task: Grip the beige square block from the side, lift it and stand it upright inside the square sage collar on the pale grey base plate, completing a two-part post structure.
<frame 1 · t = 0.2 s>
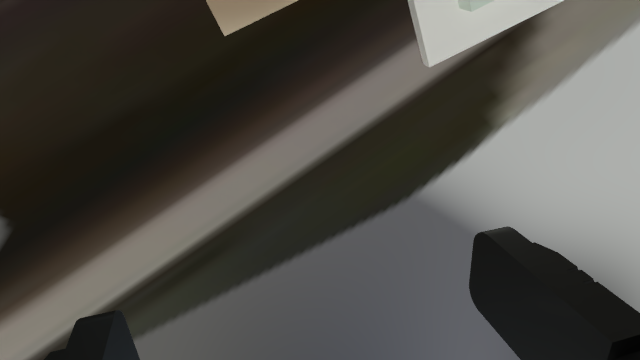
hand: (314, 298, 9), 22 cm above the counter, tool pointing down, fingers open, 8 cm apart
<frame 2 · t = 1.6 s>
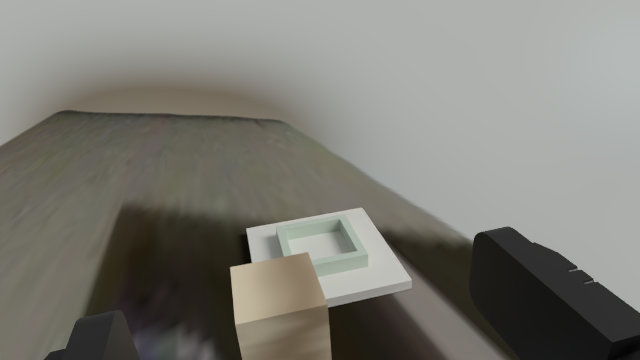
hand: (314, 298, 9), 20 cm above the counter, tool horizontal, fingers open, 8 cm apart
base plate: (320, 259, 44), on the counter
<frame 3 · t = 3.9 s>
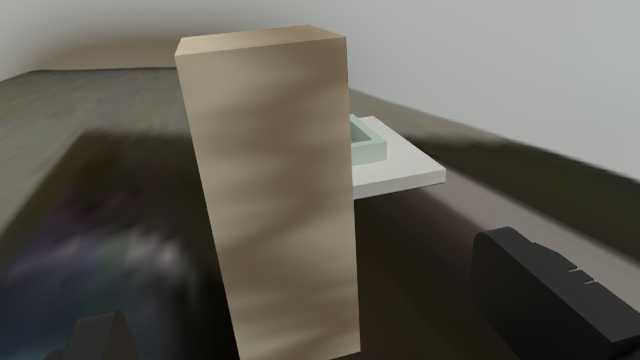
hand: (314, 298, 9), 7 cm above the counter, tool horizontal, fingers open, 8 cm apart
base plate: (323, 162, 34), on the counter
beige square block: (292, 324, 18), on the counter
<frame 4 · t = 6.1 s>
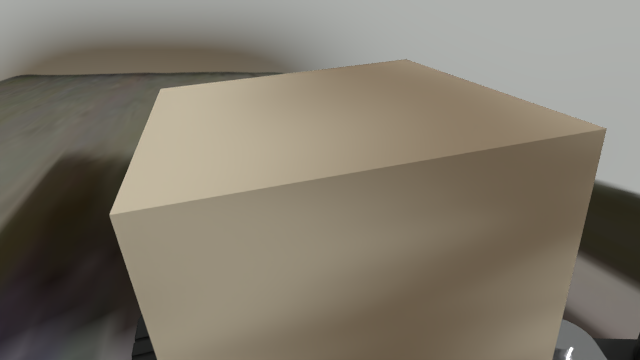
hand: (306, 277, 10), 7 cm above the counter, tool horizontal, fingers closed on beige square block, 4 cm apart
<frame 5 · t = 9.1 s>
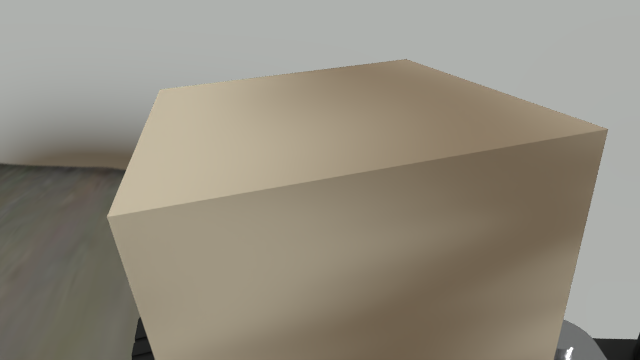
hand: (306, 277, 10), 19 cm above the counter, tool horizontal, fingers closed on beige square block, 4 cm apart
when the fingers open (9 cm above the counter, at t = 12.0 s): beige square block stays where it is, resting on base plate.
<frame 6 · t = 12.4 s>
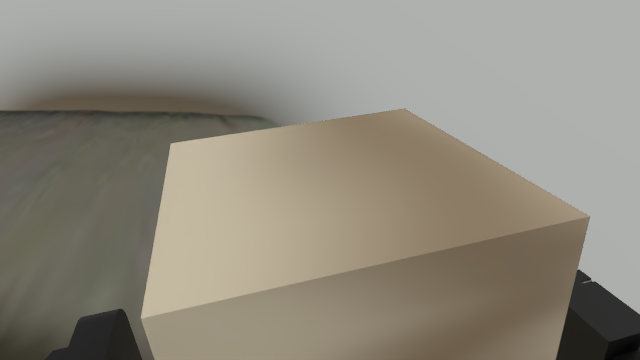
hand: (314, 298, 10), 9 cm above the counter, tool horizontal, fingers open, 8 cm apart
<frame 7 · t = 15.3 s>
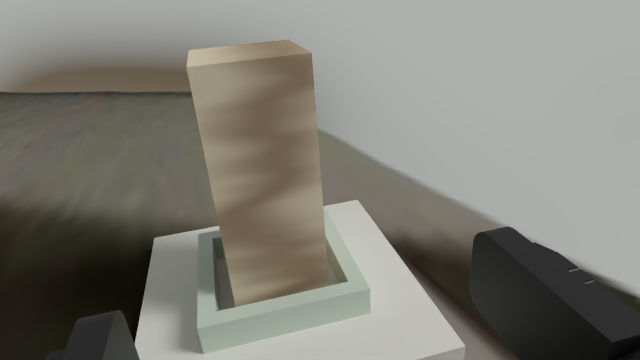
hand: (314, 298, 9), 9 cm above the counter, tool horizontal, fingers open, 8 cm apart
base plate: (279, 295, 23), on the counter
beige square block: (277, 280, 23), point 1 cm above the counter, touching base plate
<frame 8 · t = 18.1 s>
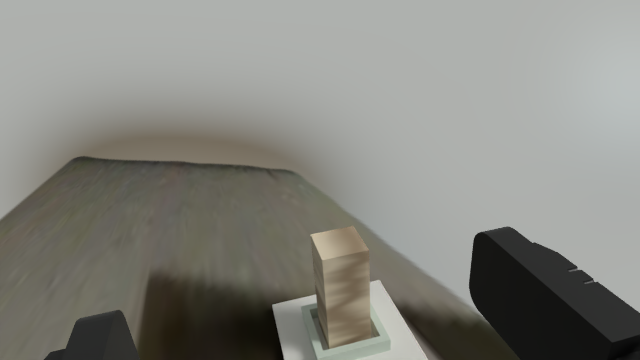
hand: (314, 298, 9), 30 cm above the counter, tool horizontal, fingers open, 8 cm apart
base plate: (344, 338, 47), on the counter
beige square block: (344, 332, 47), point 1 cm above the counter, touching base plate
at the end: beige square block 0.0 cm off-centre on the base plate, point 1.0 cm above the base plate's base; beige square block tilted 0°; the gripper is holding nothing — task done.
